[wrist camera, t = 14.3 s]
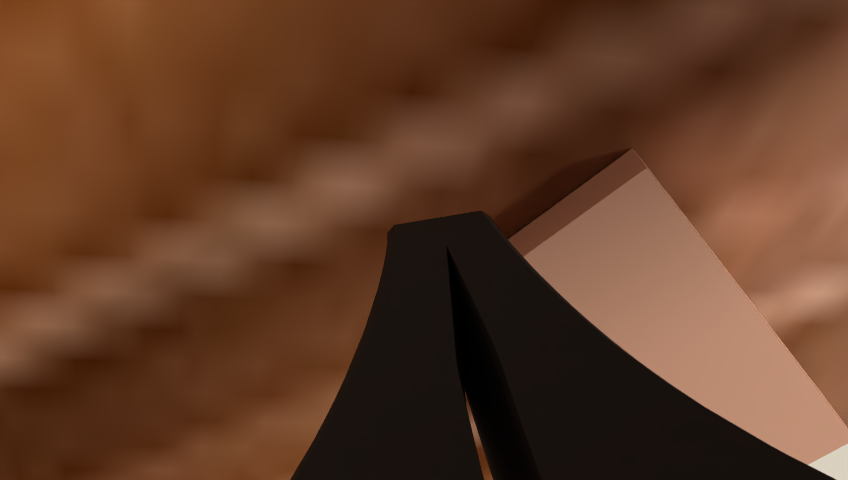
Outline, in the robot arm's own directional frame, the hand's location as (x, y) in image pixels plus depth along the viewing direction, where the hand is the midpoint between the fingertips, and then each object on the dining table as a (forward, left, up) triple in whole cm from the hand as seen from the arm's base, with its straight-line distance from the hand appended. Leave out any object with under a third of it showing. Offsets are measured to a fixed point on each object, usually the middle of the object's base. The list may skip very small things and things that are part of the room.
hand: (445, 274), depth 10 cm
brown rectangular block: (+2, +4, -5) cm, 7 cm away
